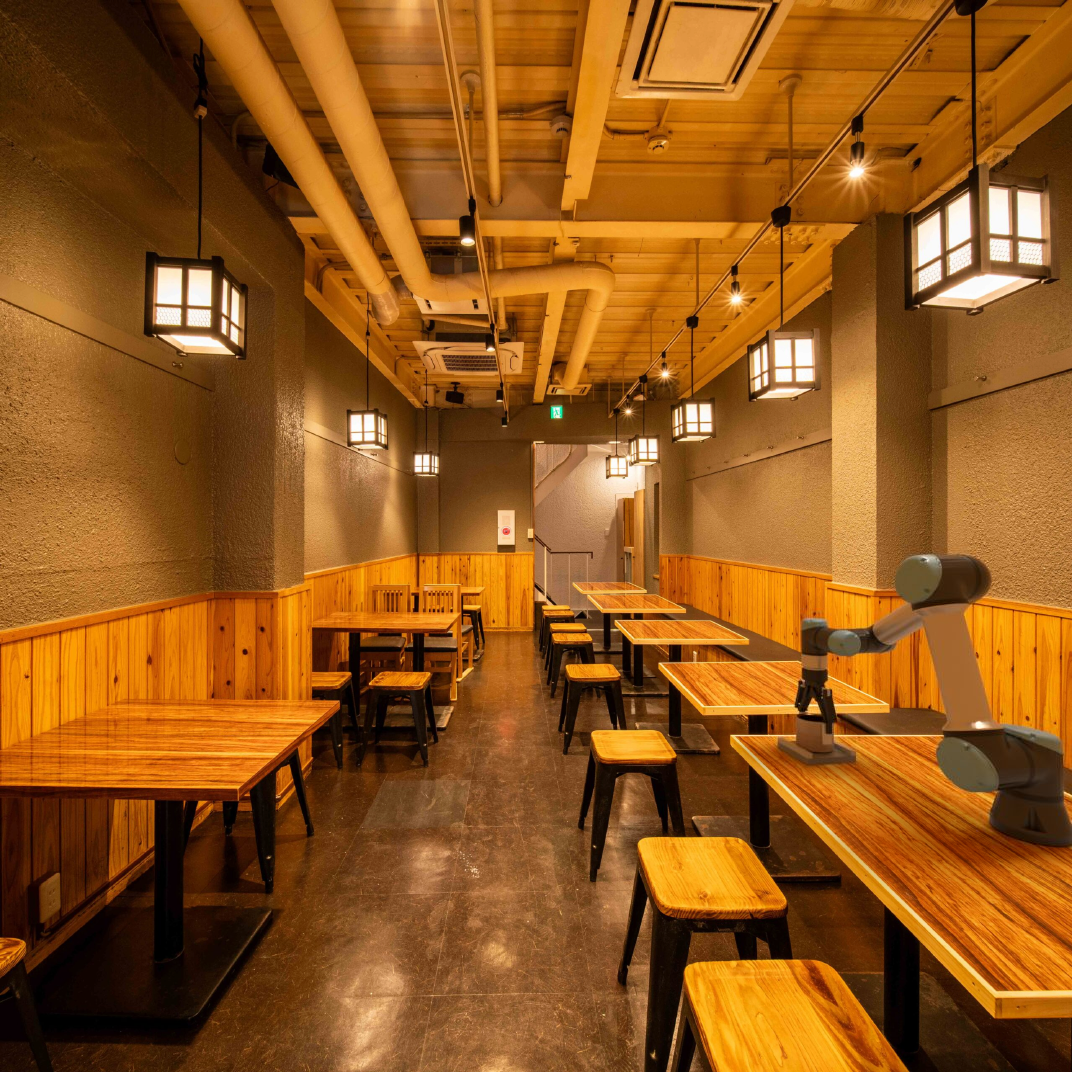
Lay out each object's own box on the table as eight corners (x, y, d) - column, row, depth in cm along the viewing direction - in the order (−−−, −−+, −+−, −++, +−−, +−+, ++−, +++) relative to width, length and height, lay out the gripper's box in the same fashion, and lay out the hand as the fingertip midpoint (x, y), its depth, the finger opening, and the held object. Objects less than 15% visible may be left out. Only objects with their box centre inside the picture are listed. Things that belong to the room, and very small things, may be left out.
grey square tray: (856, 762, 179) (856, 751, 180) (807, 765, 177) (807, 753, 177) (822, 745, 195) (822, 734, 195) (777, 747, 193) (777, 737, 193)
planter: (798, 752, 183) (797, 720, 183) (794, 741, 193) (793, 711, 193) (837, 755, 179) (836, 723, 180) (830, 744, 190) (830, 714, 190)
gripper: (850, 675, 176) (851, 749, 175) (803, 660, 199) (803, 726, 198) (827, 676, 175) (828, 751, 174) (782, 661, 198) (783, 727, 197)
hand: (815, 738), depth 186 cm, fingers open, 11 cm apart
